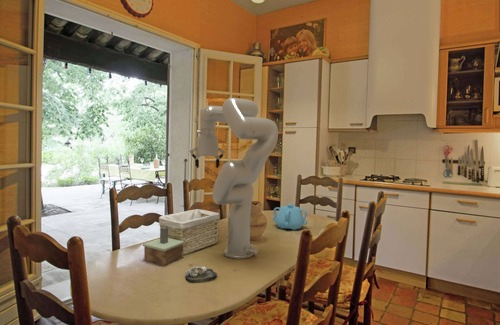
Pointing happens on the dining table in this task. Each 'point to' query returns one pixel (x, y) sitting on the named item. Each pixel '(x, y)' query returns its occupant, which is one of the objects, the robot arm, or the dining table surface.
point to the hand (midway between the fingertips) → (207, 167)
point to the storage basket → (192, 228)
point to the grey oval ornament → (200, 275)
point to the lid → (163, 241)
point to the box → (163, 255)
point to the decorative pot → (289, 217)
